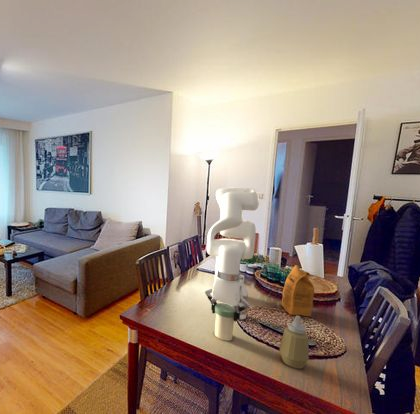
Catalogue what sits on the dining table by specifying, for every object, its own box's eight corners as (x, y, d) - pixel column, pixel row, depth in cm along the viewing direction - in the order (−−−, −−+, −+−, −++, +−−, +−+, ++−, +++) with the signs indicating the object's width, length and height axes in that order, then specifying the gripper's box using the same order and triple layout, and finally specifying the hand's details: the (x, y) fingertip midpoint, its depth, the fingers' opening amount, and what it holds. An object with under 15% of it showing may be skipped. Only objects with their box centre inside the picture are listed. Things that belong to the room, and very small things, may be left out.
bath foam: (230, 318, 127) (234, 277, 124) (226, 311, 134) (230, 272, 131) (248, 321, 125) (251, 279, 122) (243, 313, 131) (246, 273, 129)
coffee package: (302, 306, 137) (307, 264, 134) (314, 319, 126) (320, 273, 122) (278, 303, 141) (282, 262, 138) (287, 315, 129) (292, 271, 126)
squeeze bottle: (272, 356, 102) (277, 311, 99) (292, 354, 102) (298, 309, 100) (292, 372, 94) (298, 323, 91) (314, 370, 94) (320, 322, 92)
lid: (222, 306, 118) (222, 301, 117) (239, 315, 111) (240, 309, 111) (210, 311, 114) (211, 305, 114) (228, 319, 108) (228, 314, 107)
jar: (221, 329, 118) (223, 303, 117) (235, 337, 113) (238, 310, 111) (211, 333, 116) (213, 307, 114) (225, 342, 110) (228, 314, 108)
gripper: (256, 279, 106) (252, 321, 109) (209, 267, 119) (206, 305, 122) (250, 284, 102) (246, 328, 104) (201, 271, 115) (199, 311, 117)
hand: (224, 315), depth 113 cm, fingers closed on lid, 7 cm apart
